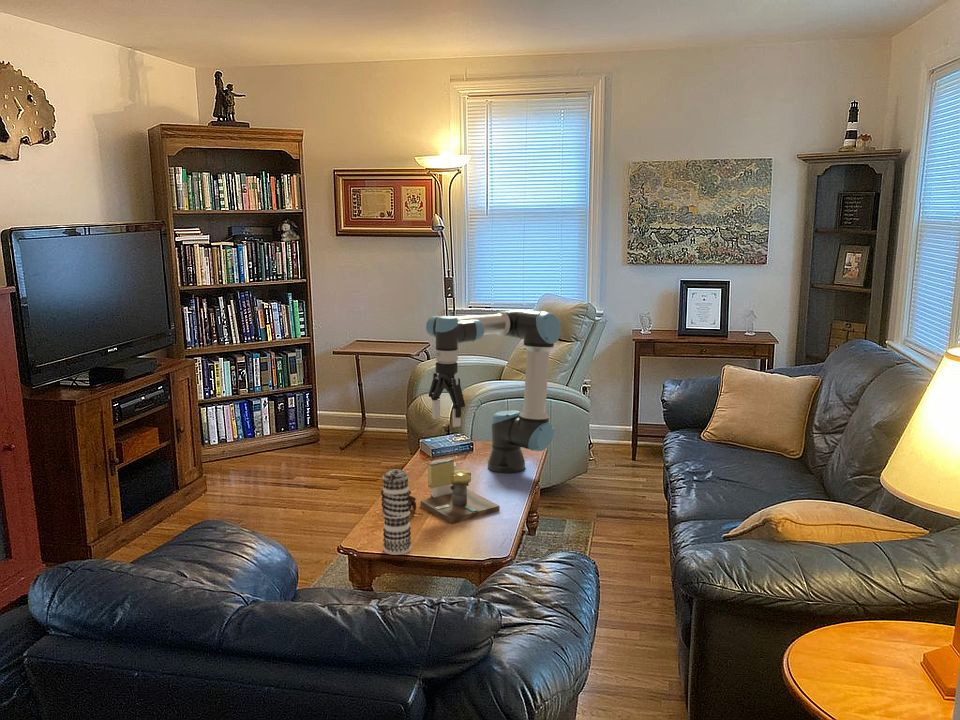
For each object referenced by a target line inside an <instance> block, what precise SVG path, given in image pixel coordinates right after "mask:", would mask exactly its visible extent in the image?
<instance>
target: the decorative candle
mask: <svg viewBox="0 0 960 720" xmlns="http://www.w3.org/2000/svg"><path fill="white" fill-rule="evenodd" d="M409 477H410V475H409V474H408V473H406V472H405V470H403V469H397V468H396V469H395V468H394V469H389V470H387V471H386V472H385V473H384V474H383V475H381V478H382V479H383V480H382V481H383V482H382V483H383V485H382V489H381V491H380V495H381V506H382V507H381V508H382V510H381V512H382V516H384V517H383V518H384V522H383V529H382V531H383V534H382V536H383V539H382V541H383V544H382V545H383V552H385V554H388V555H393V556H394V555H395V556H397V555H399V556H400V555H405V554H407V553H409V552H410V551H411V550H412V547H411V544H412V542H411V540H412V537H411V533H412V532H411V525H410V516H409V515H410V514H411V509H412V507H411V508H410V507H409V505H410V504H411V503H410V502H409V501H408V500H409V499H411V496H412V495H411V494H412V491H411V490H410V487H409Z"/></svg>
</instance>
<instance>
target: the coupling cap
mask: <svg viewBox="0 0 960 720" xmlns="http://www.w3.org/2000/svg"><path fill="white" fill-rule="evenodd" d="M438 460H439V461H436V460H434V461H435V462H433V461H430V462H428V463H427V486H428V488H430V489H431V488H436V487H440V486H445V485H449V484H456V485H462V484H467V483H468V484H470V483H471V482H472V473H471V472H470V471H469V470H465V469H464V470H463V469H456V470H455V471H454V462H455V460H454V459H453V458H451V457H449V458H445V459H438Z"/></svg>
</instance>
